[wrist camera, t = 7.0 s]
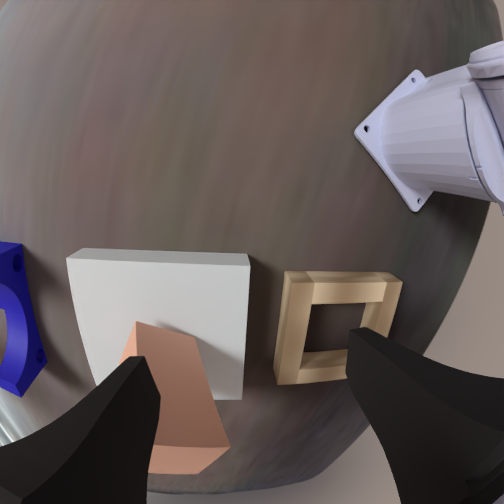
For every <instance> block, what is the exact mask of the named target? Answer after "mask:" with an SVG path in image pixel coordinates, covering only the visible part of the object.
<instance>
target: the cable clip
mask: <svg viewBox="0 0 504 504" xmlns="http://www.w3.org/2000/svg"><path fill="white" fill-rule="evenodd" d="M0 308H1V309H4V310H5V313H6V319H7V345H6V351H5V355H4V358H3V361H2V364H1V366H0V387H1V388H3V389H5V390H7V391H9V392H11V393H13V394H15V395H17V396H19V397H21V398H22V396H23V395H24V393H25V392H26V390H27V389H28V388H29V386H30V385H31V383H32V382H33V381H34V379H35V378H36V376H37V375H38V374H39V372H40V371H41V370H42V368H43V367H44V366H45V364H46V363H47V362H48V361H47V358H46V355H45V352H44V349H43V346H42V343H41V339H40V336H39V332H38V329H37V325H36V321H35V317H34V313H33V309H32V304H31V300H30V295H29V290H28V284H27V279H26V272H25V265H24V258H23V249H22V244H18V243H8V242H0Z"/></svg>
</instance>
